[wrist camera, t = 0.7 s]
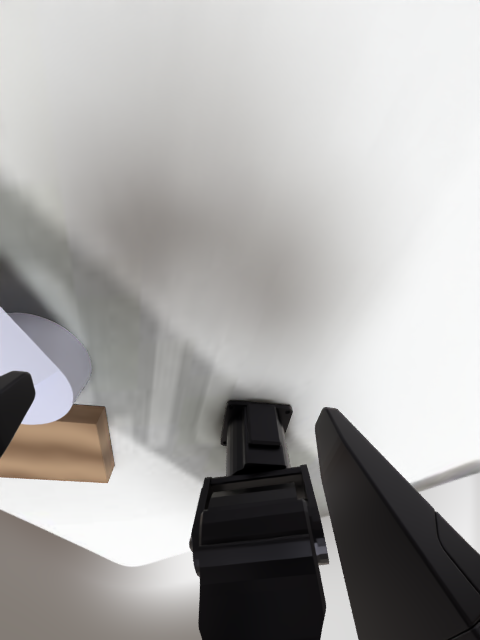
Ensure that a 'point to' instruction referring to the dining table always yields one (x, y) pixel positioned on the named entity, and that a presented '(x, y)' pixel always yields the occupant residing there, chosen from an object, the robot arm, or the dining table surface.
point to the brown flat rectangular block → (62, 448)
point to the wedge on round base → (44, 363)
